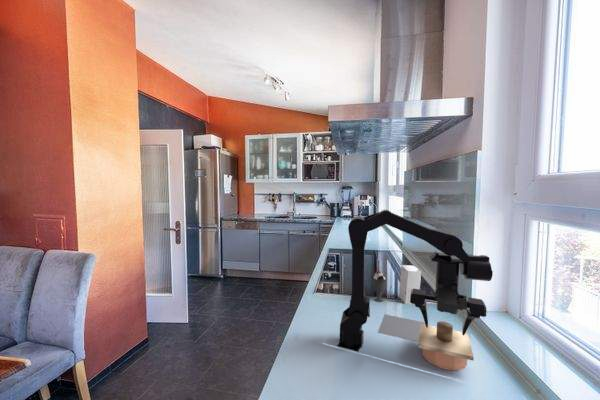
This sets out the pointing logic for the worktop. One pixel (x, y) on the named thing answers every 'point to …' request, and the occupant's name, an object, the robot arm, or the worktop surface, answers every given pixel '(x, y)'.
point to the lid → (445, 340)
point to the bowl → (444, 360)
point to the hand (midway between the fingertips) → (444, 330)
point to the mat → (400, 327)
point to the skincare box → (409, 282)
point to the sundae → (378, 284)
